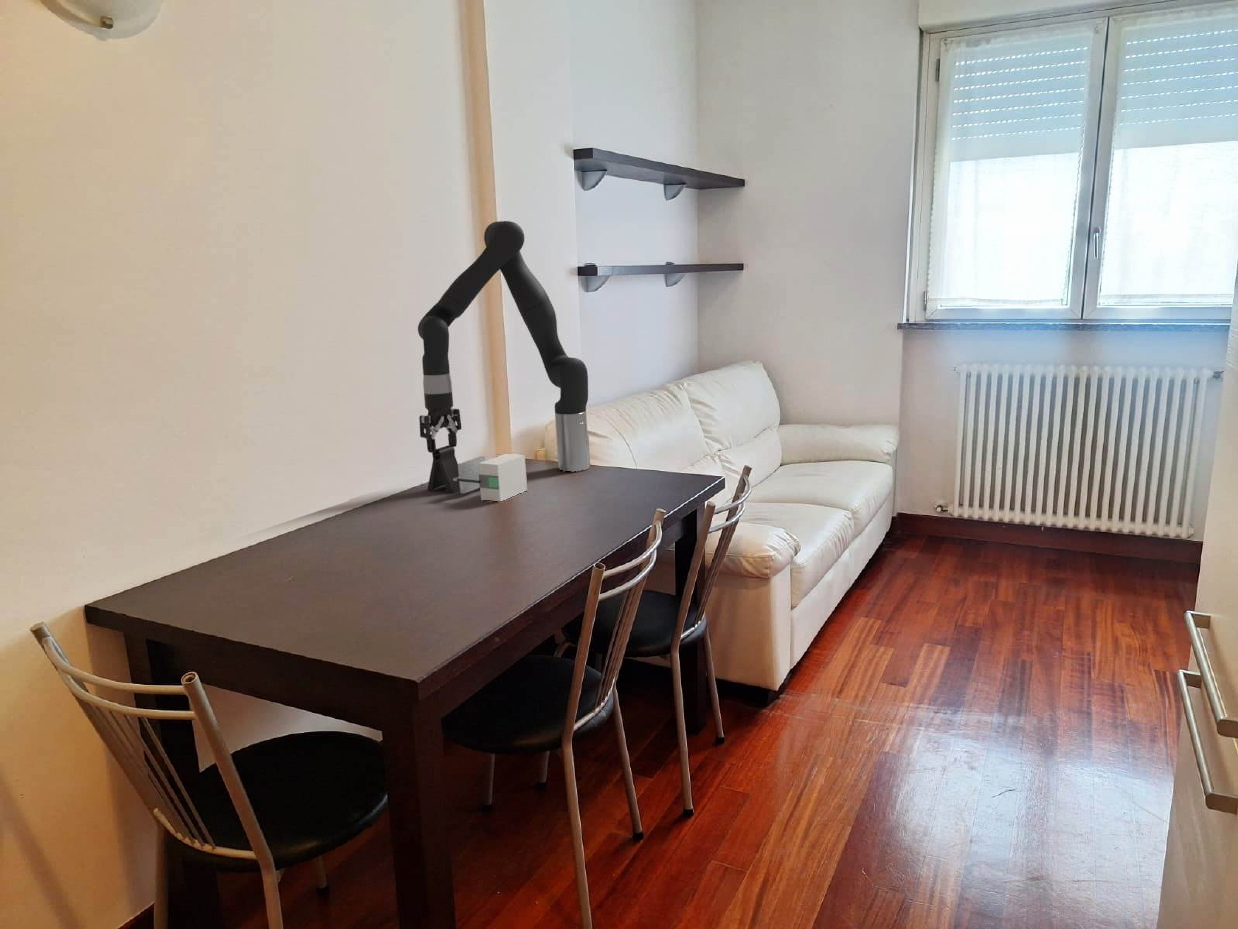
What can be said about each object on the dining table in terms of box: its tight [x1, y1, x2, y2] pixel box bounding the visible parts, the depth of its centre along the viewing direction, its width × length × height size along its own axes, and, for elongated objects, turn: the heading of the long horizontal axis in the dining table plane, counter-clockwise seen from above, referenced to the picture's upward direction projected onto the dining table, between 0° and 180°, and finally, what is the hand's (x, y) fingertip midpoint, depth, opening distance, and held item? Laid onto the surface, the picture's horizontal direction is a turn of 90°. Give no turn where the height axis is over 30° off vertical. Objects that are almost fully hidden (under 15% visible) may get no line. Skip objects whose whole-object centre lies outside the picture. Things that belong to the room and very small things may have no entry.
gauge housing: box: [478, 453, 528, 502], centre depth 223 cm, size 12×6×10 cm, turn 151°
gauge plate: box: [453, 455, 486, 494], centre depth 226 cm, size 12×8×8 cm
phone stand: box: [426, 444, 460, 494], centre depth 233 cm, size 9×6×12 cm, turn 62°
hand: (442, 449), depth 231 cm, fingers open, 8 cm apart
